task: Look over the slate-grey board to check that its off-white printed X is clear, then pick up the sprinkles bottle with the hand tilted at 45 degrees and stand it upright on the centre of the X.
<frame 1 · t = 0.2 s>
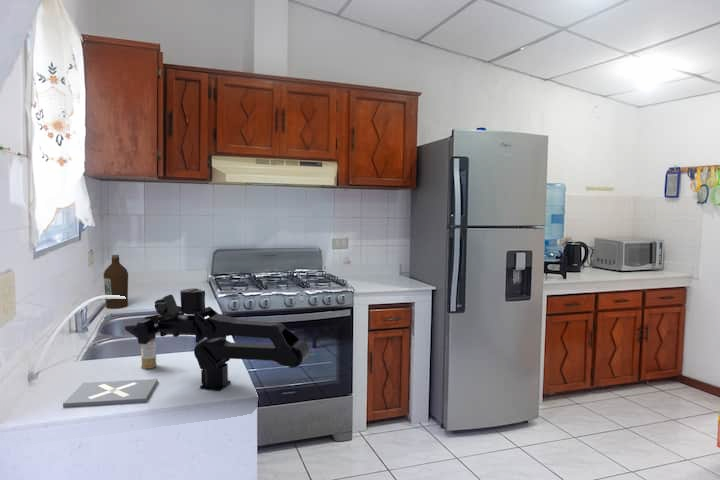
hand: (135, 323, 145), 17 cm above the countertop, tool horizontal, fingers open, 9 cm apart
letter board: (113, 393, 134), on the countertop
sprinkles bottle: (149, 367, 156), on the countertop
olive oil: (116, 306, 237), on the countertop
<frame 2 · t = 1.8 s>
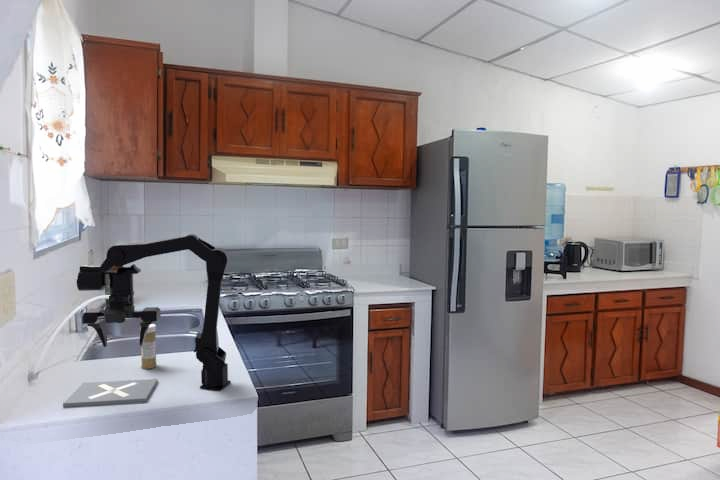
hand: (123, 345, 135), 13 cm above the countertop, tool pointing down, fingers open, 9 cm apart
nothing on the countertop moved.
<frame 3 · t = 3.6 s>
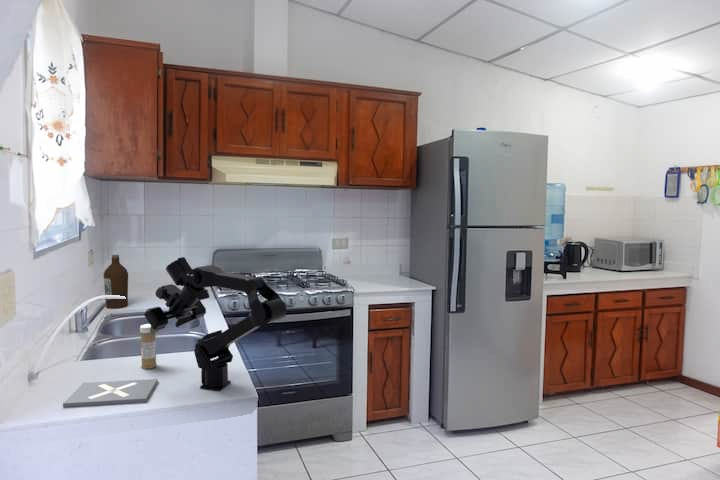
hand: (164, 329, 150), 13 cm above the countertop, tool tilted 45°, fingers open, 9 cm apart
nothing on the countertop moved.
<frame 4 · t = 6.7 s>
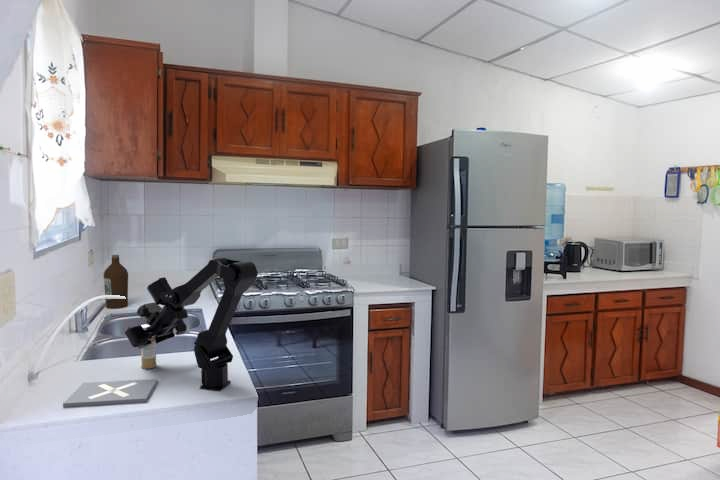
hand: (145, 345, 156), 7 cm above the countertop, tool tilted 45°, fingers closed on sprinkles bottle, 4 cm apart
sprinkles bottle: (149, 367, 156), on the countertop, touching gripper
everything else where it was.
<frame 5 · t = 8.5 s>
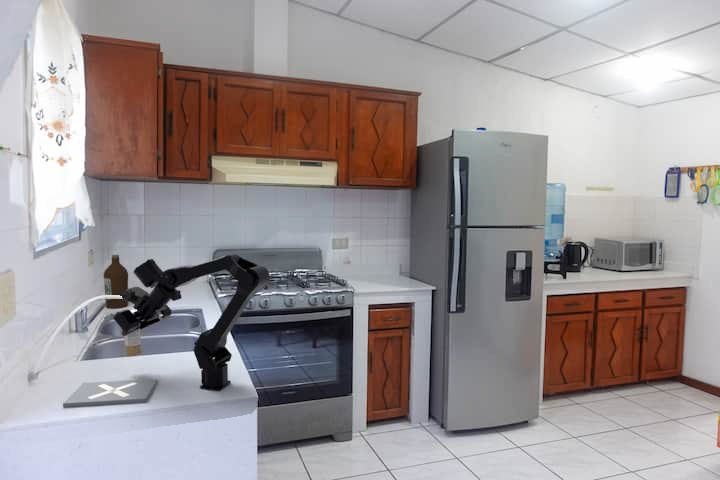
hand: (128, 332, 148), 13 cm above the countertop, tool tilted 45°, fingers closed on sprinkles bottle, 4 cm apart
sprinkles bottle: (133, 355, 149), point 6 cm above the countertop, touching gripper
everything else where it was.
when the fingers open (9 cm above the countertop, at t = 10.8 s): sprinkles bottle drops 1 cm, resting on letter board.
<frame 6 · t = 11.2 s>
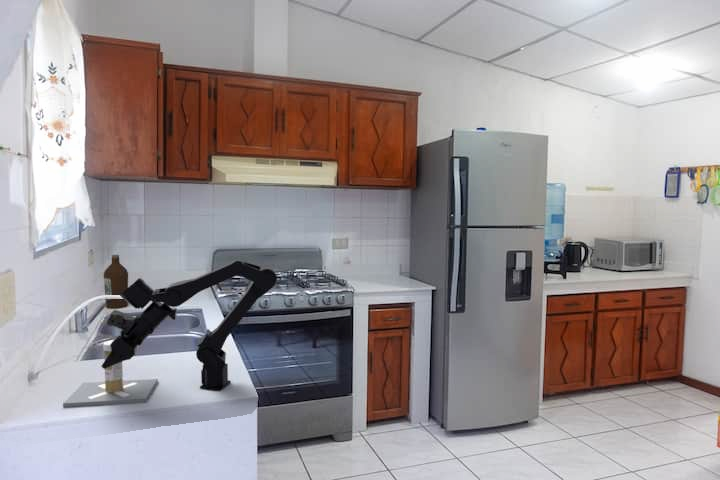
hand: (106, 362, 133), 9 cm above the countertop, tool tilted 45°, fingers open, 8 cm apart
sprinkles bottle: (114, 390, 135), point 1 cm above the countertop, touching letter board
everything else where it was.
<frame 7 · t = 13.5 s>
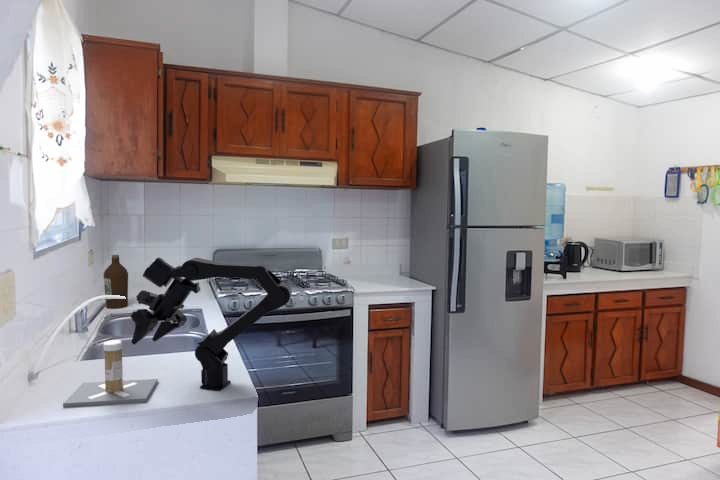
hand: (143, 342, 138), 13 cm above the countertop, tool tilted 35°, fingers open, 9 cm apart
nothing on the countertop moved.
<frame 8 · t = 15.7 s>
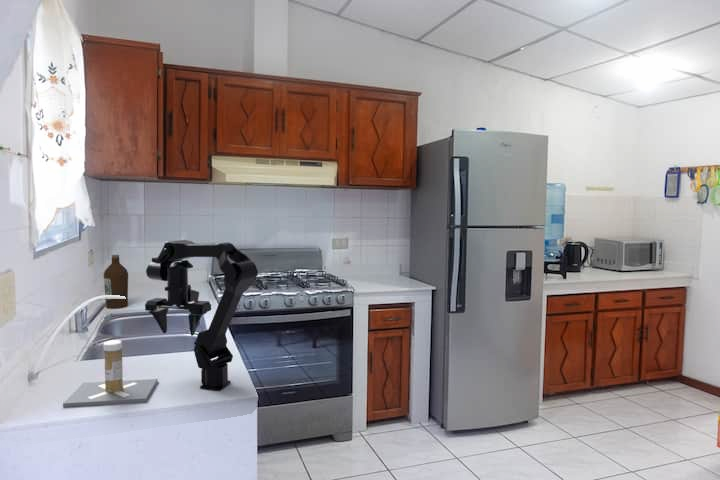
hand: (178, 334, 147), 13 cm above the countertop, tool pointing down, fingers open, 9 cm apart
nothing on the countertop moved.
at the end: sprinkles bottle 0.3 cm off-centre on the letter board, point 0.8 cm above the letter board's base; sprinkles bottle tilted 0°; the gripper is holding nothing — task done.
